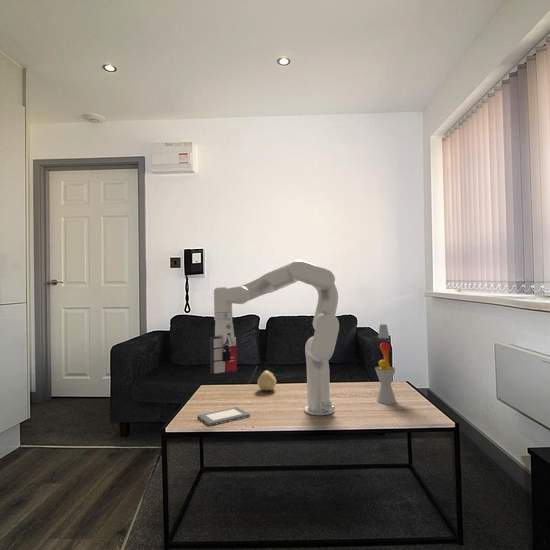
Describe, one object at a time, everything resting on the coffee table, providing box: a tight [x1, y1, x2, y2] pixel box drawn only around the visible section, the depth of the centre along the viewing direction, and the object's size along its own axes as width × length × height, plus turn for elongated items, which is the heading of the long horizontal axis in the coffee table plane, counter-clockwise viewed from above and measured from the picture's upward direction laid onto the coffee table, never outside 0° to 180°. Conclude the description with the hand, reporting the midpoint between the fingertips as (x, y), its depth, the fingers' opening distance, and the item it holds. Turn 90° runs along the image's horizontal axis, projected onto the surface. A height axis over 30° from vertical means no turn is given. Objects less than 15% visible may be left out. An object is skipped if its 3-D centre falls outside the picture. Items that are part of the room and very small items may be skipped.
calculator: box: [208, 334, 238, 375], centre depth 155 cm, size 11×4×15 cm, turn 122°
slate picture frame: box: [197, 406, 251, 426], centre depth 152 cm, size 12×18×1 cm, turn 123°
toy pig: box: [256, 369, 277, 391], centre depth 192 cm, size 10×12×11 cm
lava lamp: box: [374, 323, 397, 405], centre depth 169 cm, size 9×9×35 cm
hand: (224, 359), depth 154 cm, fingers closed on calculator, 3 cm apart
